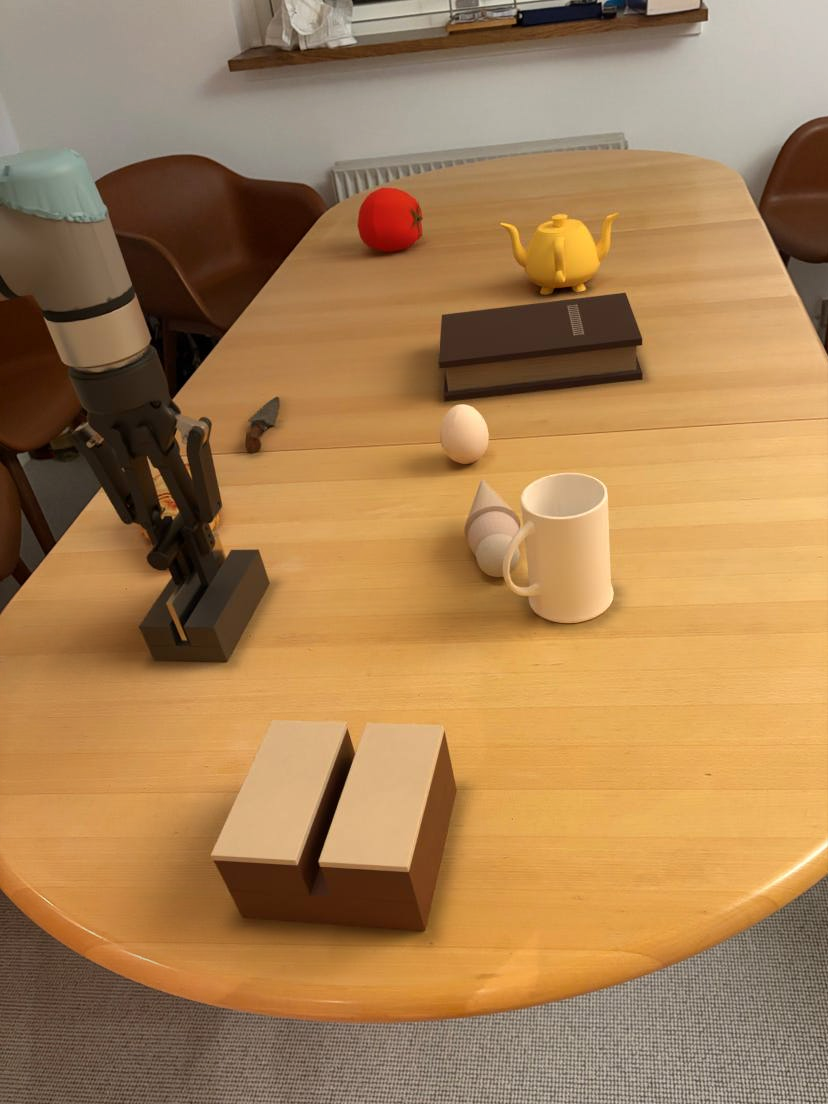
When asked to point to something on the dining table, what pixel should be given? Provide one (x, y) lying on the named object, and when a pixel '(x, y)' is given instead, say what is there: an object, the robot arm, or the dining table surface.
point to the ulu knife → (190, 585)
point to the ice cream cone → (491, 531)
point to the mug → (565, 547)
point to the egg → (464, 434)
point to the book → (539, 347)
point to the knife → (261, 424)
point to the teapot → (561, 253)
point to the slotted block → (209, 613)
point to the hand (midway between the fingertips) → (197, 576)
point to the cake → (340, 825)
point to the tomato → (389, 220)
